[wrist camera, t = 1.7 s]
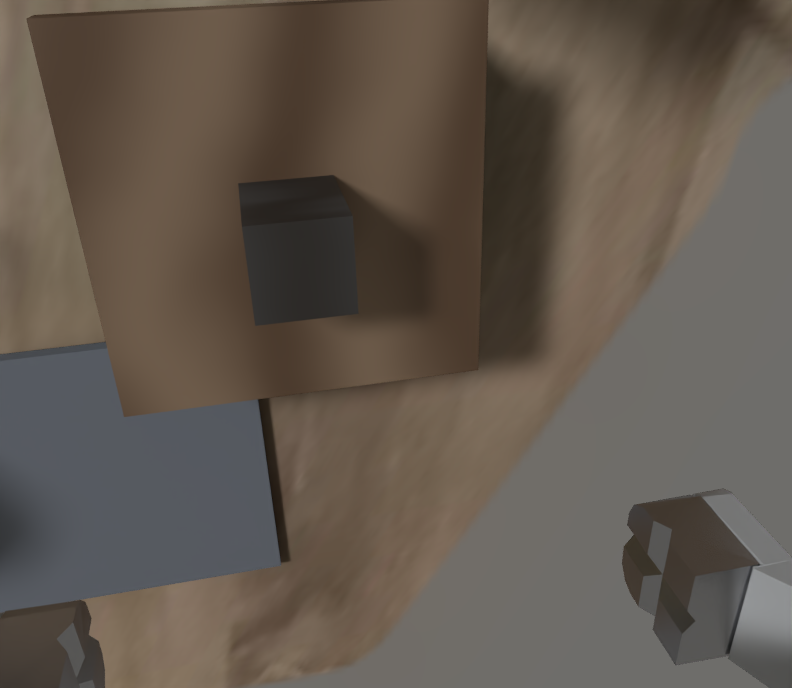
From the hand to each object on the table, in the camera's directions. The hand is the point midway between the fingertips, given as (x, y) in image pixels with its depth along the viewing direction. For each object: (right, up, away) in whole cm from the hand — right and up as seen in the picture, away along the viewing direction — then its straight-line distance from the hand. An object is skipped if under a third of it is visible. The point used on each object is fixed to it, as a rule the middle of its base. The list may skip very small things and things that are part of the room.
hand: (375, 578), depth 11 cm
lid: (-3, +8, +14) cm, 17 cm away
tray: (-13, -3, +25) cm, 28 cm away
